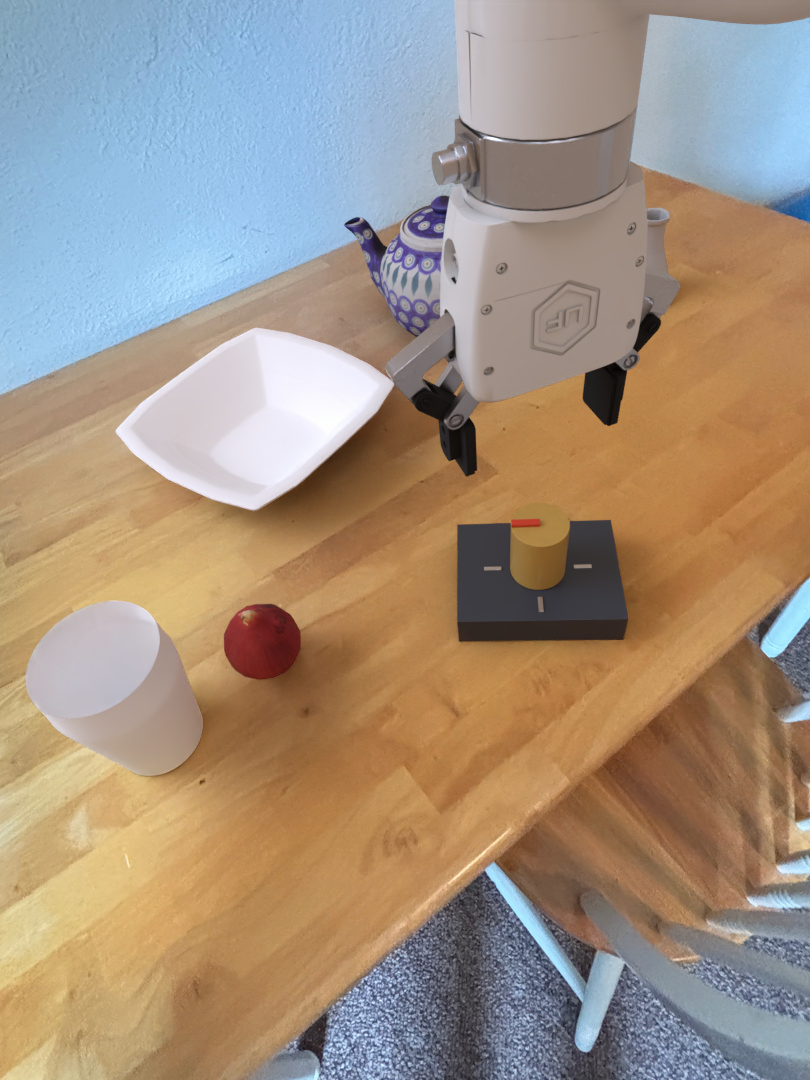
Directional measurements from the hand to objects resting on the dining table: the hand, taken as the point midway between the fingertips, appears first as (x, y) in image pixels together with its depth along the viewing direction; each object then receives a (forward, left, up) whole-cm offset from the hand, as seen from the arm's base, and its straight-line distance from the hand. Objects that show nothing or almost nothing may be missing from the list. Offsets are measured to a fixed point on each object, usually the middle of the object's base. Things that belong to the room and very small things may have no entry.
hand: (531, 436), depth 45 cm
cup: (+28, +12, -19) cm, 36 cm away
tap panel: (-1, -1, -19) cm, 19 cm away
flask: (-17, -44, -19) cm, 51 cm away
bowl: (+25, -20, -19) cm, 38 cm away
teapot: (+6, -41, -19) cm, 46 cm away
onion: (+20, +6, -19) cm, 28 cm away
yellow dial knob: (-1, -1, -16) cm, 16 cm away
